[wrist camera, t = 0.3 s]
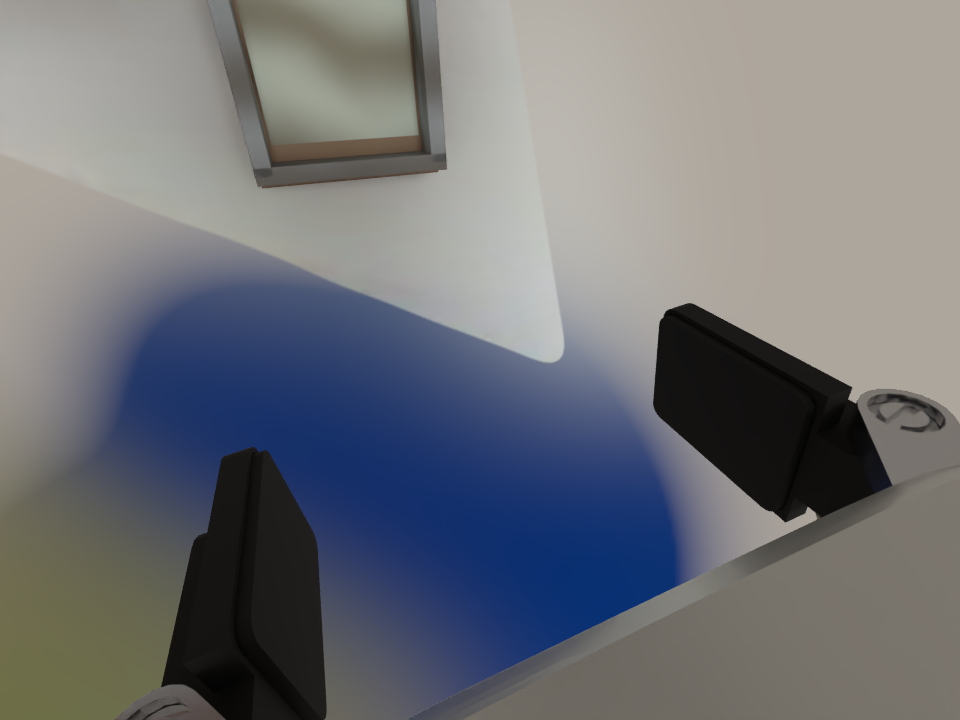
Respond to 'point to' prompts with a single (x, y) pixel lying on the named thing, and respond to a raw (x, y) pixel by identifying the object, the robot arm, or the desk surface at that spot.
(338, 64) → the tray
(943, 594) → the robot arm
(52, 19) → the desk surface
